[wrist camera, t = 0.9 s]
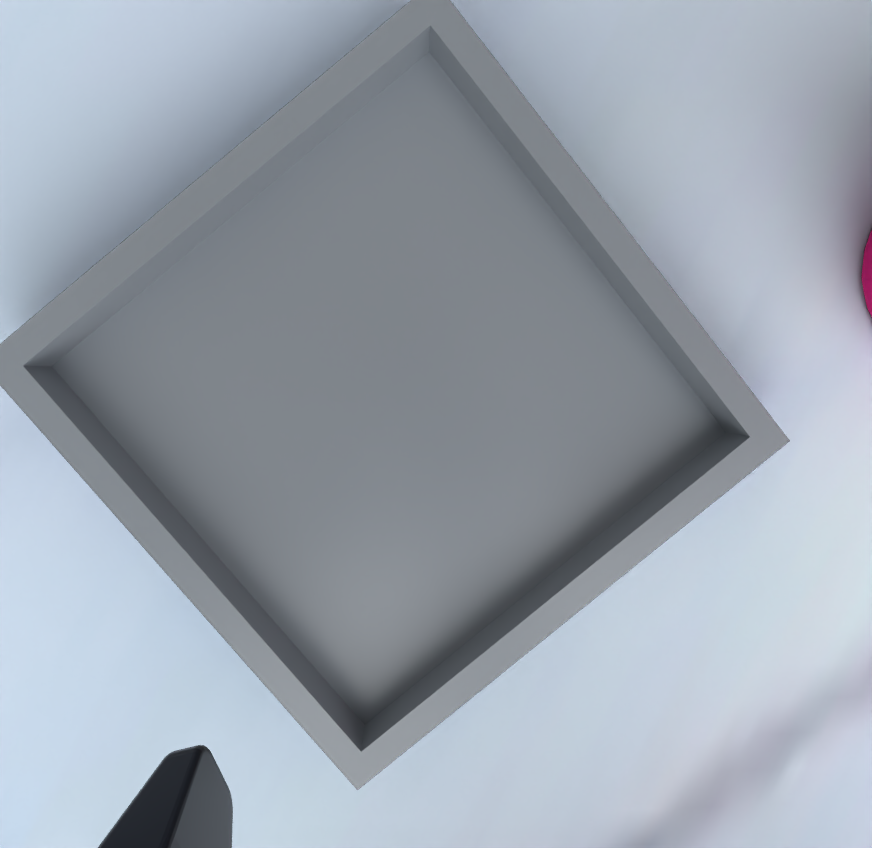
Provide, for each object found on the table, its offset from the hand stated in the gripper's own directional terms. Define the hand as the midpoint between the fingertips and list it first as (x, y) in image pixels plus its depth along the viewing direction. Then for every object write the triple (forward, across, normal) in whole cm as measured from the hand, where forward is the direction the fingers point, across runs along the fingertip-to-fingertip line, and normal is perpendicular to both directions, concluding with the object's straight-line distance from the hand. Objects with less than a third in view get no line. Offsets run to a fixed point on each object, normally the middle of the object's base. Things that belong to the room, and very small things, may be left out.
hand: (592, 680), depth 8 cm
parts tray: (+14, +2, +2) cm, 14 cm away
